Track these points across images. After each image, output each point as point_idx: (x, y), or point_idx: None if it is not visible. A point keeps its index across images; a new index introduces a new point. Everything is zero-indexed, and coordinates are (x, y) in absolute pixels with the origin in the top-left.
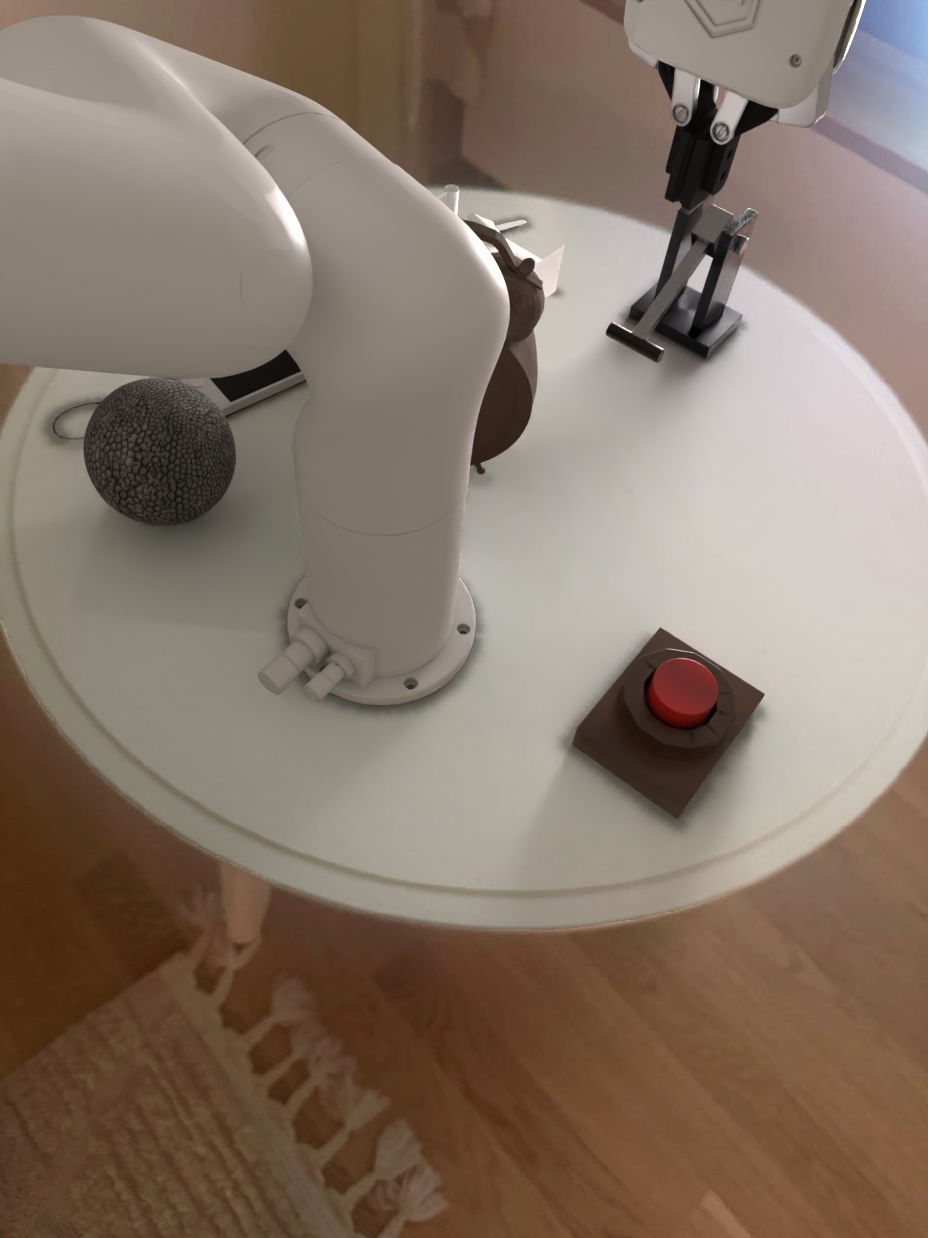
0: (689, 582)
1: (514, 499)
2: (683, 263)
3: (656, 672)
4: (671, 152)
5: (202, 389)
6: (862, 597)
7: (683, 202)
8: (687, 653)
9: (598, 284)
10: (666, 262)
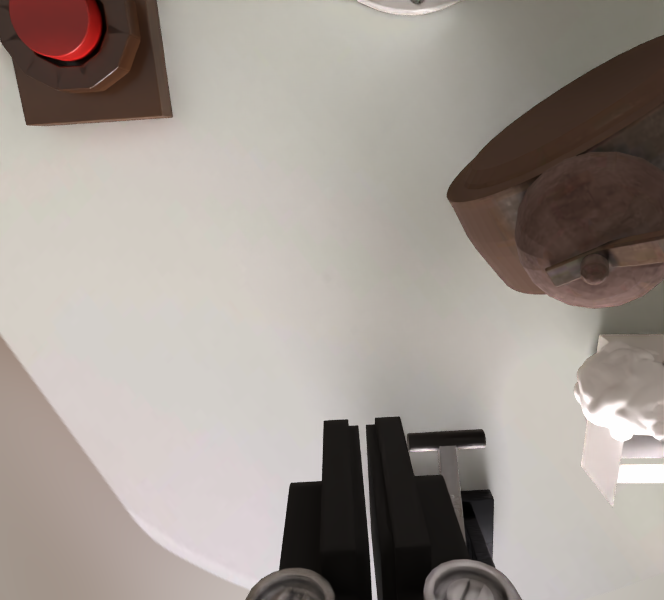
0: (199, 218)
1: (417, 171)
2: None
3: (84, 2)
4: (447, 508)
5: None
6: (64, 332)
7: (342, 422)
8: (96, 80)
9: (547, 507)
10: (487, 558)
